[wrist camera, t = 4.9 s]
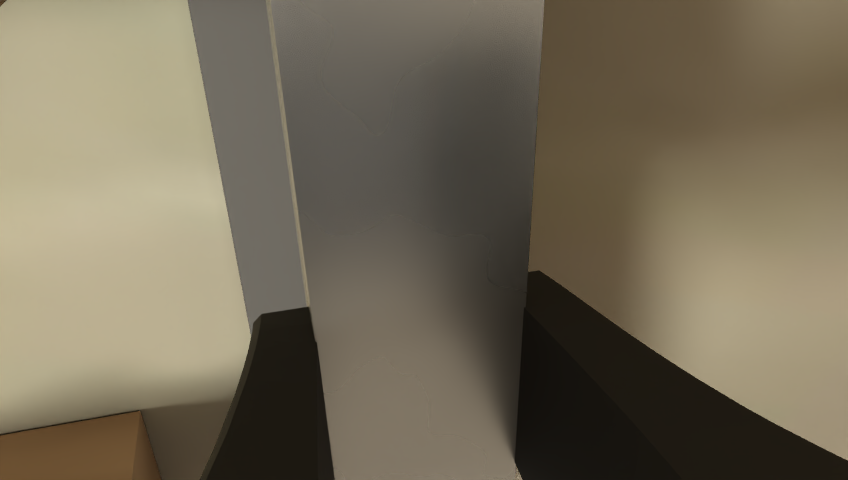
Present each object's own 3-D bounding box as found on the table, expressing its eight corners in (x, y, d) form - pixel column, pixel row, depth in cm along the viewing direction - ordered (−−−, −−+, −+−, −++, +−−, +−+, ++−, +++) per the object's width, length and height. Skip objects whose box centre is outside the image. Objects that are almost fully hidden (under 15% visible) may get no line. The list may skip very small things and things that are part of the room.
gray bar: (470, 507, 19) (477, 527, 18) (292, 545, 18) (294, 567, 17) (481, -472, 9) (497, -488, 9) (100, -485, 8) (92, -503, 8)
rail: (464, 600, 15) (500, 722, 13) (349, 627, 15) (369, 757, 13) (472, -436, 7) (575, -526, 5) (206, -443, 6) (199, -544, 4)
